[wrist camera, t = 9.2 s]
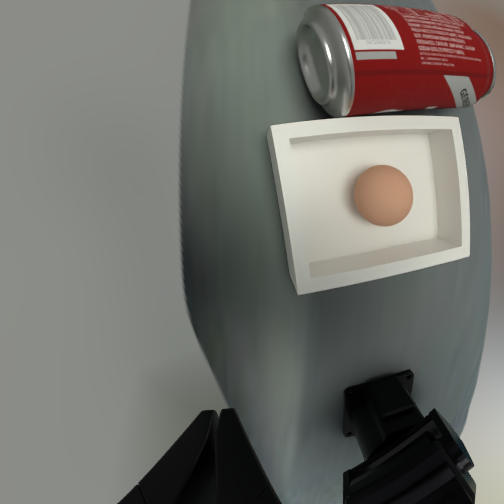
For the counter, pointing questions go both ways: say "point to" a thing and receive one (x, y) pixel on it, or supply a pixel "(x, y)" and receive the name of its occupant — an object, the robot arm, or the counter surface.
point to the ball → (383, 195)
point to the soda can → (391, 59)
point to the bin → (343, 204)
